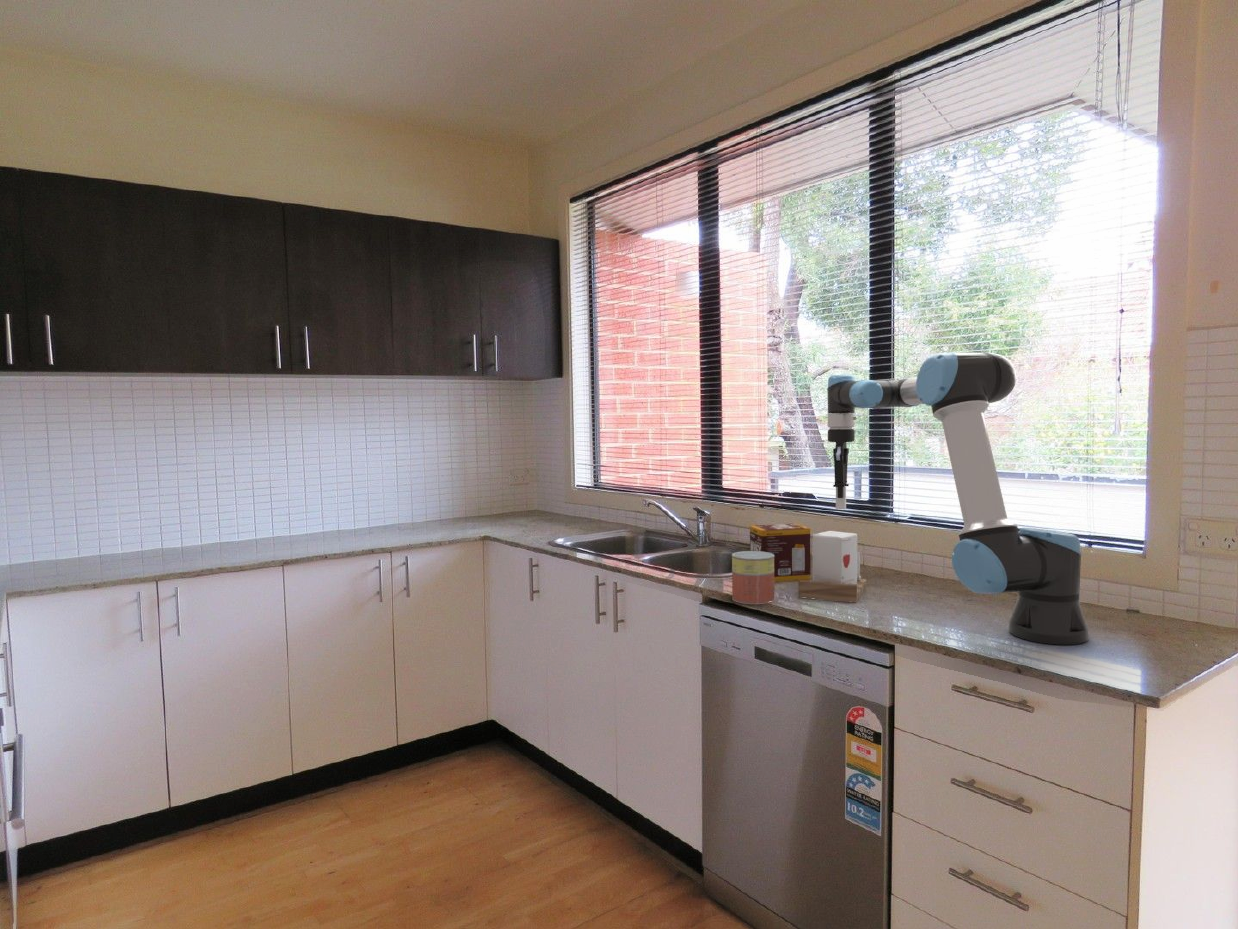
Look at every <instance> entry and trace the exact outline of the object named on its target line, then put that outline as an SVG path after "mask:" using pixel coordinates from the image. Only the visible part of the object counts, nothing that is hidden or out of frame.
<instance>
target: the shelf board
mask: <svg viewBox="0 0 1238 929" xmlns="http://www.w3.org/2000/svg"><path fill="white" fill-rule="evenodd" d="M797 584H798V587H797V588H798V592H797V593H798V595H797V597H806V598H815V599H814V600H818V599H824V600H823V601H830V600H833V602H834V601H835V602H843V601H852V602H851V603H855V602H857V603H858V602H859V599H860V597H861V595H862V593H863V592H862V591H864V590H865V588H866V585H867V579H866V578H861V579H860V581H857V584H846V583H832V582H818V581H813V575H812V576H811V579H810V580H799V581H798V583H797ZM863 589H864V590H863ZM806 598H805V599H806Z"/></svg>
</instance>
